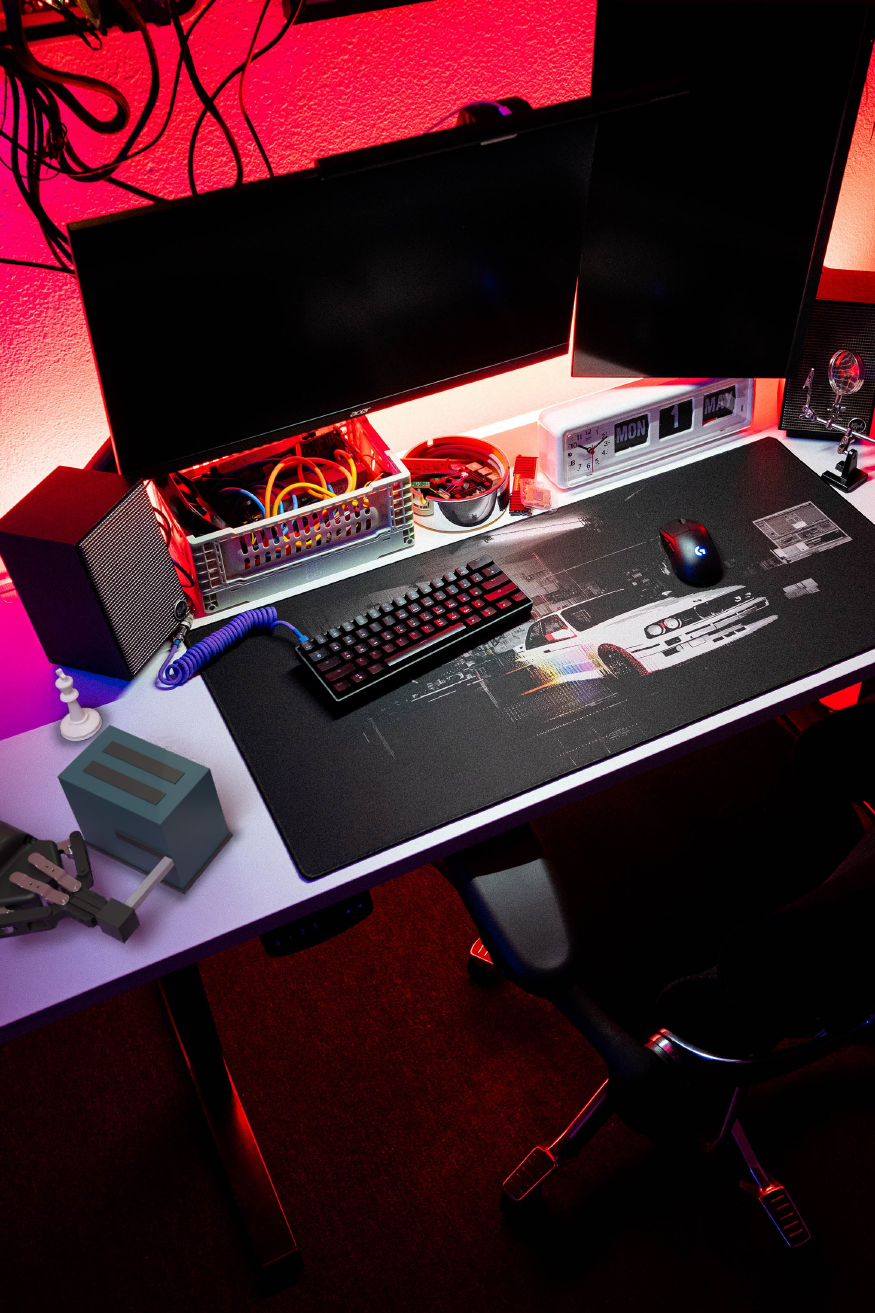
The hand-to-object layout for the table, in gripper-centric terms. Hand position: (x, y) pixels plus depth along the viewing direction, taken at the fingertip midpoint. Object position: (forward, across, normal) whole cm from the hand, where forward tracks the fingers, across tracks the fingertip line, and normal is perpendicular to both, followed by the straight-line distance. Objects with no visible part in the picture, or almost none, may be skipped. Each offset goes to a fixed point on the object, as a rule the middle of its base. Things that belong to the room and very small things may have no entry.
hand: (105, 916), depth 113 cm
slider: (+1, +4, +1) cm, 4 cm away
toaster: (-5, +12, +6) cm, 15 cm away
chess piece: (-25, +22, +6) cm, 34 cm away
